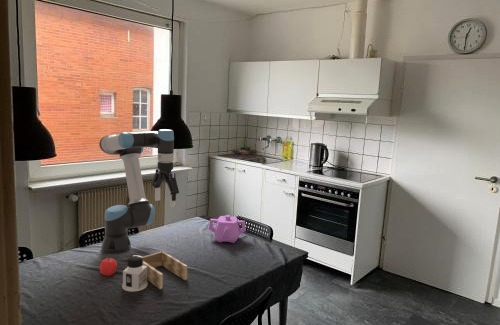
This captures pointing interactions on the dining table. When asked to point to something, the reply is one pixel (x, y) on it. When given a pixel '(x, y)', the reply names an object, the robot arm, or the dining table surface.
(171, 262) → the tan open-ended frame
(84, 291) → the dining table surface
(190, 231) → the dining table surface
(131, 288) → the trivet
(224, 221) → the teapot
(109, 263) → the apple
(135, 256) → the container
